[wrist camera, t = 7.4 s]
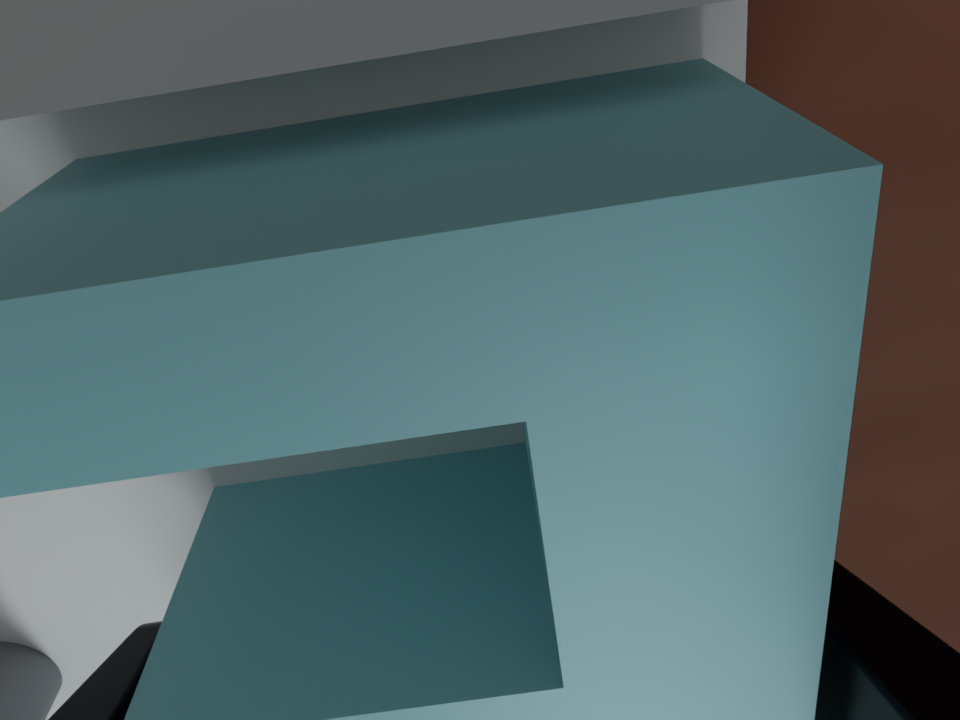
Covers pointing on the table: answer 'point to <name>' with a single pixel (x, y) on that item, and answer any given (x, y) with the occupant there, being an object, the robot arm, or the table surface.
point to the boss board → (222, 111)
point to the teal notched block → (467, 396)
